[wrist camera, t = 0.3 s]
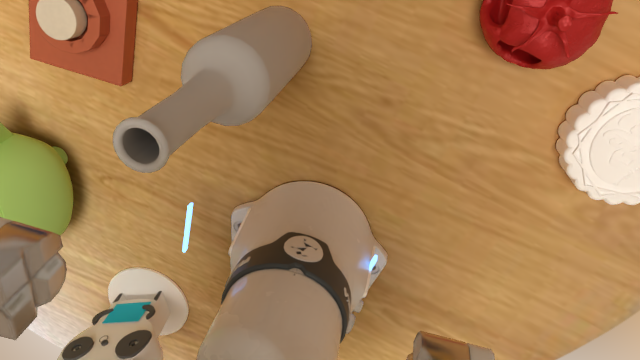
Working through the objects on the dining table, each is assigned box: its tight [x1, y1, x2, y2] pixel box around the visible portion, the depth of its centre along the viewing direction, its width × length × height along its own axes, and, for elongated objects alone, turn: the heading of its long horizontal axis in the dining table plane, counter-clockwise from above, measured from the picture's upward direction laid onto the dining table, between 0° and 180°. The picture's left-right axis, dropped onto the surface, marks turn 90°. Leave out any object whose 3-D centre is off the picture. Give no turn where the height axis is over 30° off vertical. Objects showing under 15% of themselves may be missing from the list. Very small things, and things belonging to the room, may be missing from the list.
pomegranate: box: [480, 0, 618, 69], centre depth 38 cm, size 10×10×9 cm
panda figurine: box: [57, 267, 189, 360], centre depth 59 cm, size 12×11×15 cm
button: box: [36, 0, 87, 40], centre depth 45 cm, size 4×4×2 cm
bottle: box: [113, 6, 312, 173], centre depth 35 cm, size 7×7×28 cm
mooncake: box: [556, 75, 640, 205], centre depth 44 cm, size 12×12×4 cm
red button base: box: [29, 0, 138, 86], centre depth 47 cm, size 12×10×4 cm
